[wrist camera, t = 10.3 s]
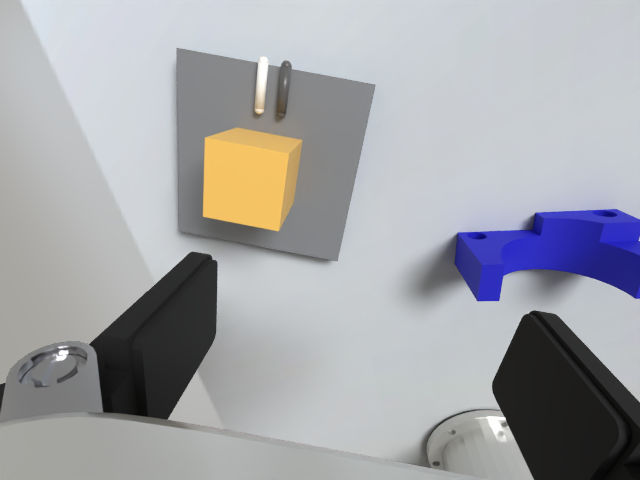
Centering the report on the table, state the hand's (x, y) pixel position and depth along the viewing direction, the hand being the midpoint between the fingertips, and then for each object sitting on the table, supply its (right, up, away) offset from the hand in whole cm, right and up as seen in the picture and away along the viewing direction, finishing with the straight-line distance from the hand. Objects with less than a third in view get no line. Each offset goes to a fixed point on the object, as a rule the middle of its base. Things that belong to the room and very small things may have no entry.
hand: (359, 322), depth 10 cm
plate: (-5, +9, +17) cm, 20 cm away
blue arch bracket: (+17, +3, +18) cm, 25 cm away
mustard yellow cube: (-5, +8, +16) cm, 18 cm away
